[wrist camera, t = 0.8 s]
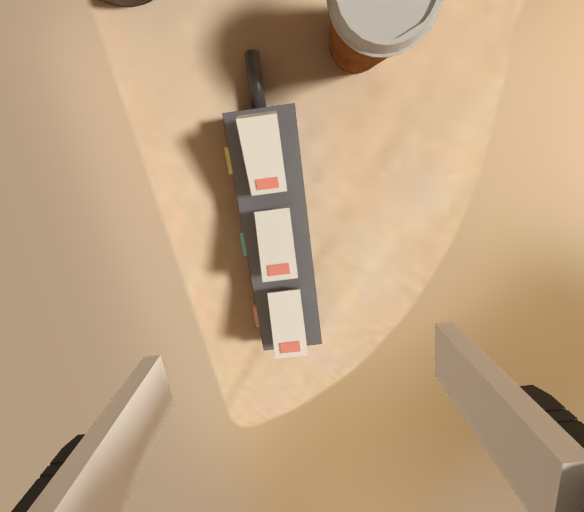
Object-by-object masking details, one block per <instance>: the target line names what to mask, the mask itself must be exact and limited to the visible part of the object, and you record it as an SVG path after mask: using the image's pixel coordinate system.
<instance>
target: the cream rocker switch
mask: <svg viewBox="0 0 584 512" xmlns="http://www.w3.org/2000/svg"><path fill="white" fill-rule="evenodd" d="M267 295H268V303H269V311H270V320H271V328H272V337H273V345H274V353H275V359H279V358H287V357H296V356H305V355H308V350H307V342H306V334H305V326H304V318H303V309H302V301H301V293H300V288H298V289H290V290H281V291H273V292H268V293H267Z"/></svg>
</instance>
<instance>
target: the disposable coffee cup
mask: <svg viewBox="0 0 584 512" xmlns="http://www.w3.org/2000/svg"><path fill="white" fill-rule="evenodd" d="M442 3H443V0H327V6H328V12H329V16H330V50H331V54H332V56H333V58H334V61H335V62H336V63H337V65H338V66H339V67H340V68H342V69H343V70H345V71H348V72H350V73H362V72H364V71H367V70H369V69H371V68H372V67H373V66H375V65H377V64H378V63H380V62H381V61H383V60H385V59H386V58H388V57H391V56H394V55H398V54H401V53H403V52H405V51H406V50H408V49H410V48H412V47H413V46H414V45H416V44H417V43H418V42H419V41H420V40H421V39H422V38H423V37H424V36H425V35H426V34H427V33H428V31H429V30H430V28H431V27H432V25H433V24H434V22H435V20H436V18H437V17H438V14H439V11H440V8H441V6H442Z"/></svg>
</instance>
